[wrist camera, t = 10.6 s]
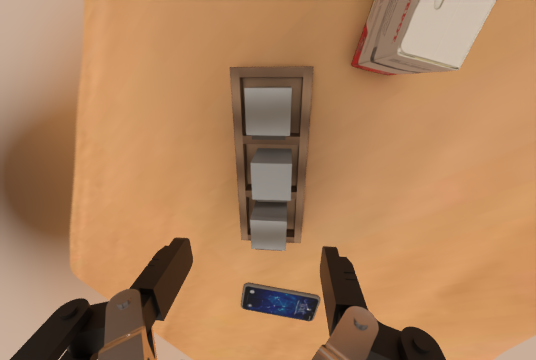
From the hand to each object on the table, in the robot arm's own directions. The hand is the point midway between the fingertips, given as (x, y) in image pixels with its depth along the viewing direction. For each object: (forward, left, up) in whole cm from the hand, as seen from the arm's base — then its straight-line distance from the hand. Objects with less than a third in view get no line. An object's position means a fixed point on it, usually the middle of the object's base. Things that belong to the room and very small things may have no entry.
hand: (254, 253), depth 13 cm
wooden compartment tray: (+1, 0, -20) cm, 20 cm away
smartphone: (+30, +1, -20) cm, 37 cm away
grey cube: (+1, 0, -18) cm, 18 cm away
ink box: (-15, +12, -20) cm, 28 cm away
